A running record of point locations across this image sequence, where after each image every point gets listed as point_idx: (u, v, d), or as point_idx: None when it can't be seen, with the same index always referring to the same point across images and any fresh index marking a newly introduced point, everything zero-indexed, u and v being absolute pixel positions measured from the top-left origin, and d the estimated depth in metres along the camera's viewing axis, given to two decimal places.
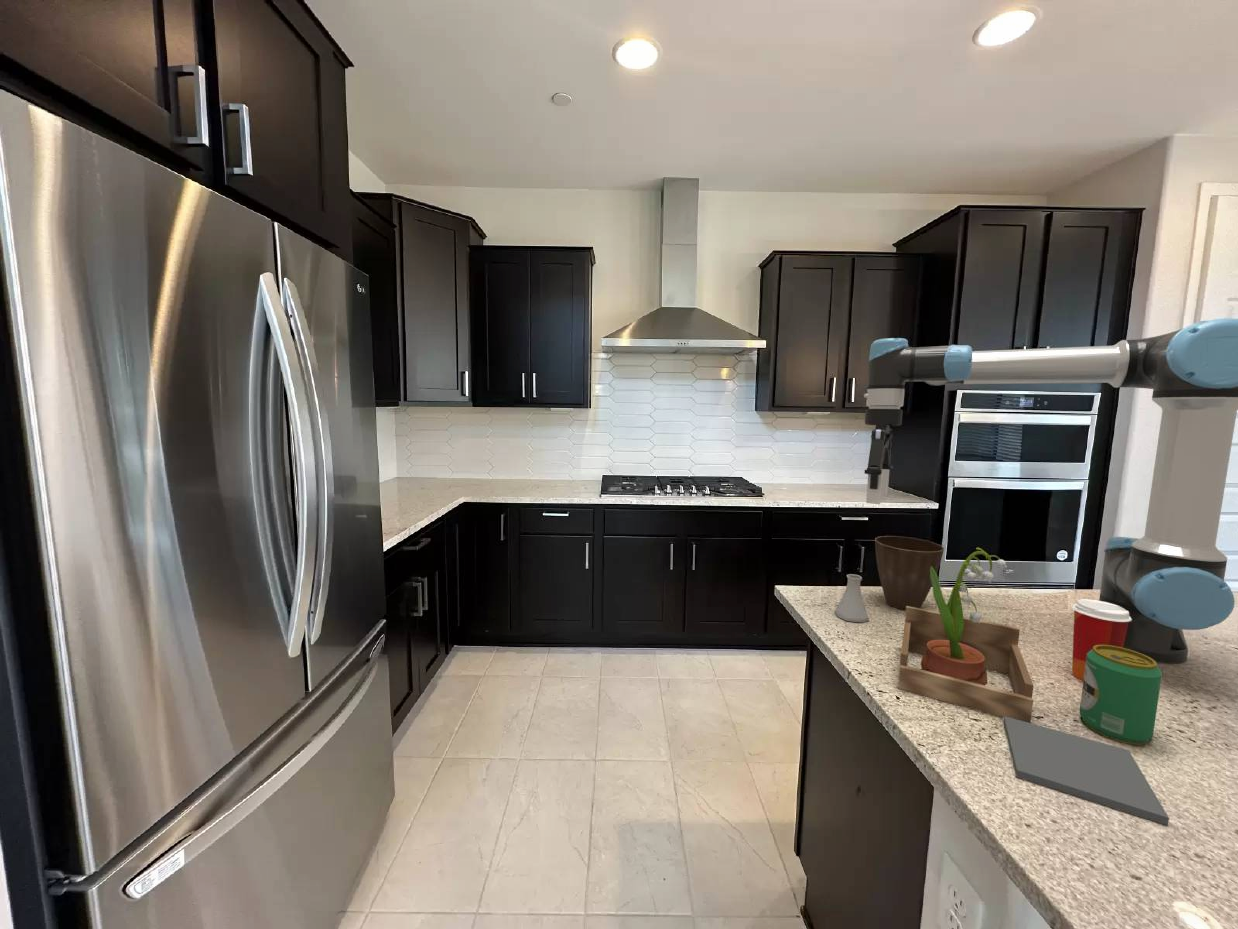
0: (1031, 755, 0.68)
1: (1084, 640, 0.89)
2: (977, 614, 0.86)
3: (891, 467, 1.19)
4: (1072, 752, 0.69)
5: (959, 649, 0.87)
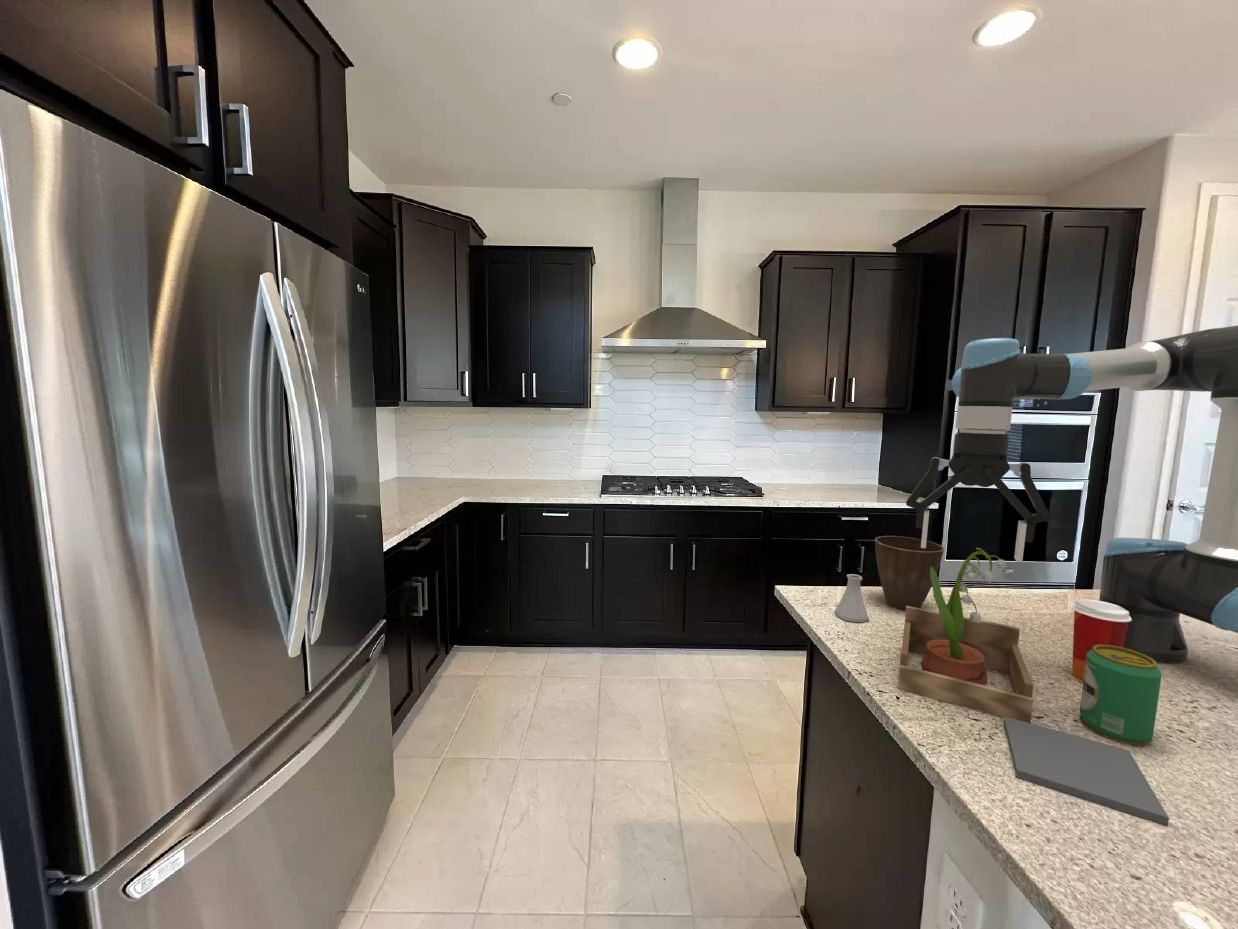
0: (1031, 755, 0.68)
1: (1084, 640, 0.89)
2: (977, 614, 0.86)
3: (1030, 521, 0.80)
4: (1072, 752, 0.69)
5: (959, 649, 0.87)
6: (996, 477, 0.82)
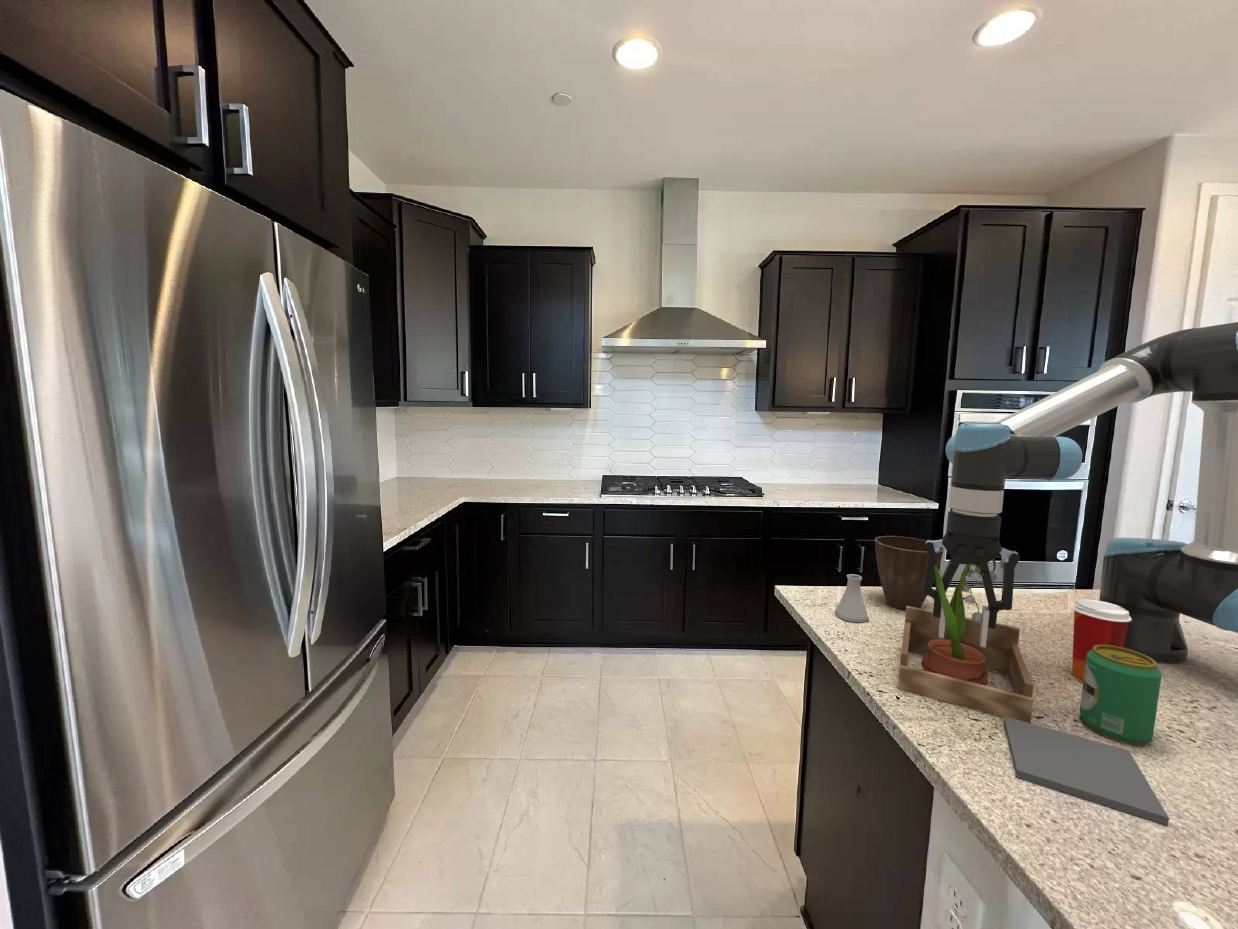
0: (1031, 755, 0.68)
1: (1084, 640, 0.89)
2: (979, 614, 0.86)
3: (992, 609, 0.84)
4: (1072, 752, 0.69)
5: (961, 649, 0.87)
6: (984, 560, 0.84)
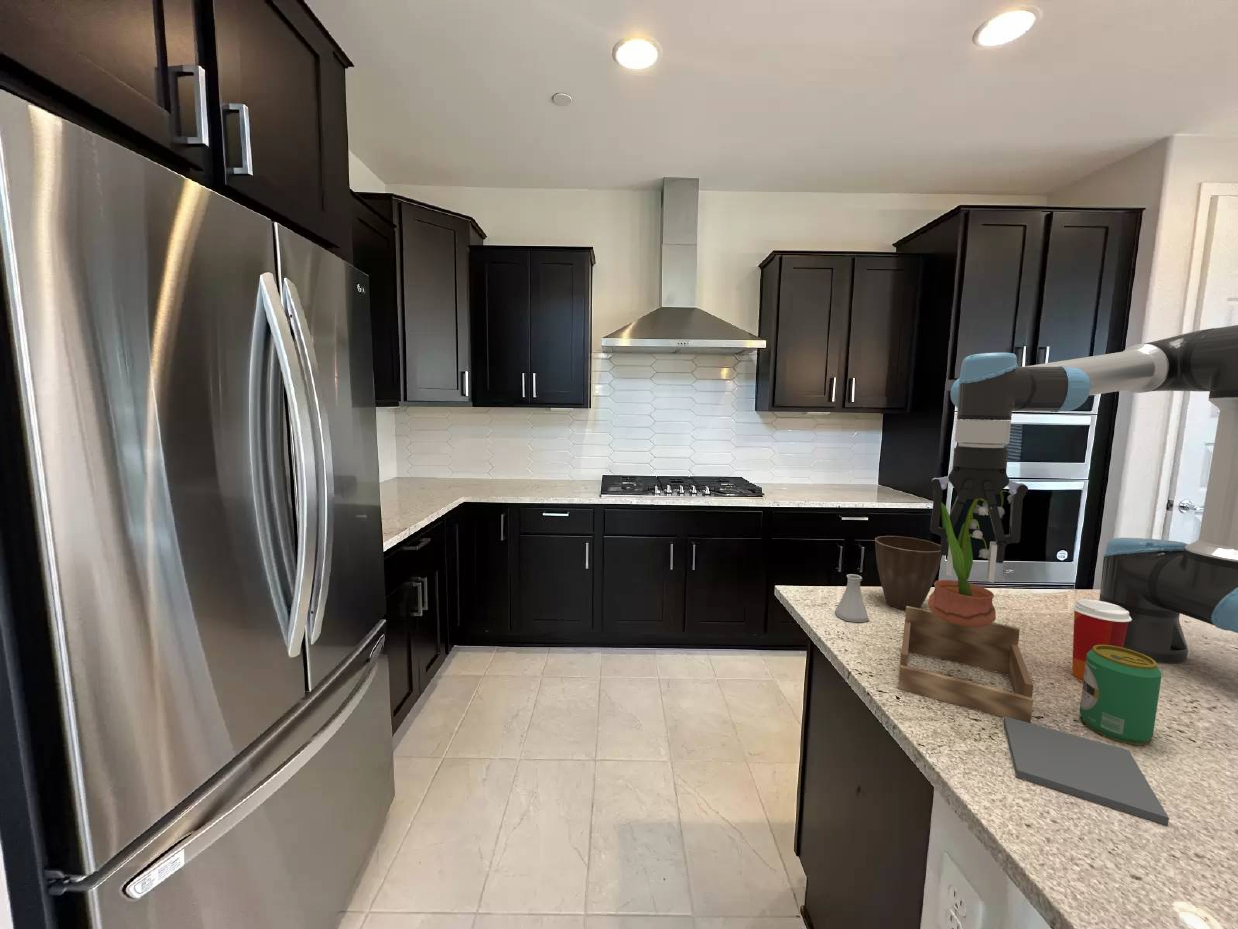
0: (1031, 755, 0.68)
1: (1084, 640, 0.89)
2: (987, 550, 0.85)
3: (1000, 542, 0.83)
4: (1072, 752, 0.69)
5: (968, 586, 0.86)
6: (992, 493, 0.83)
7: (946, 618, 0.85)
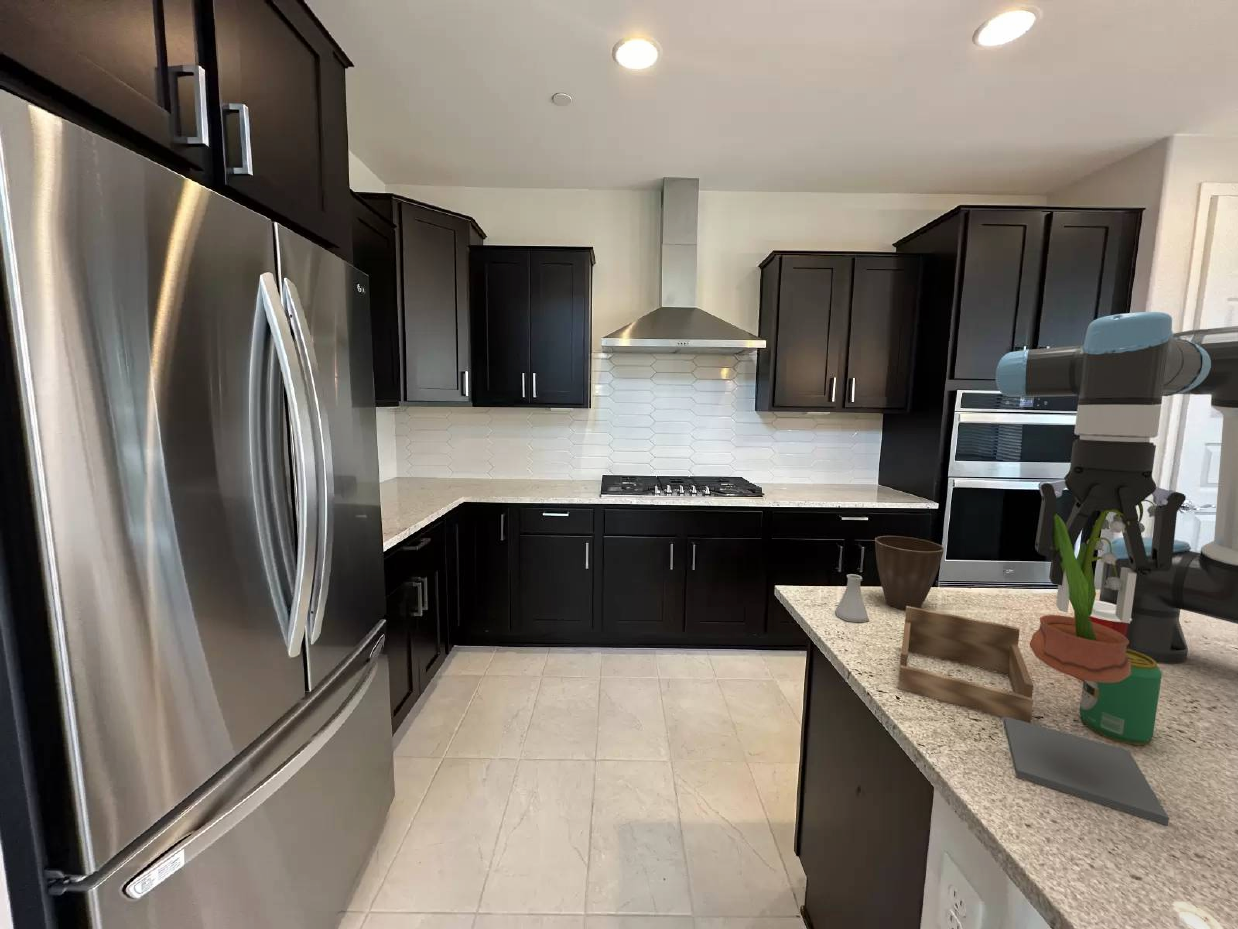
0: (1031, 755, 0.68)
1: None
2: (1118, 579, 0.64)
3: (1141, 570, 0.61)
4: (1072, 752, 0.69)
5: (1091, 626, 0.64)
6: (1131, 503, 0.61)
7: (1062, 669, 0.64)
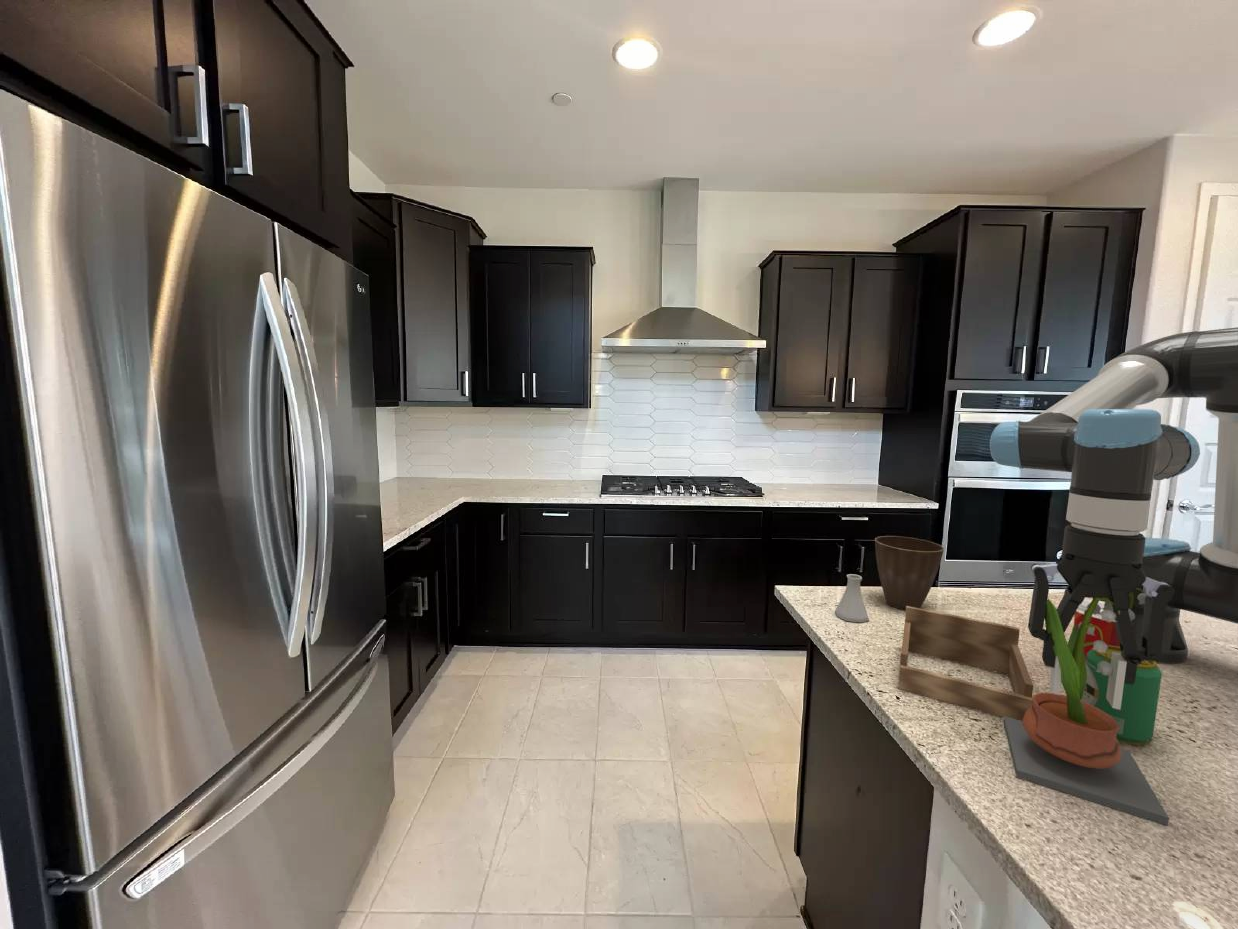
0: (1031, 755, 0.68)
1: None
2: (1109, 665, 0.65)
3: (1131, 659, 0.62)
4: None
5: (1082, 710, 0.66)
6: (1121, 593, 0.62)
7: (1054, 753, 0.65)
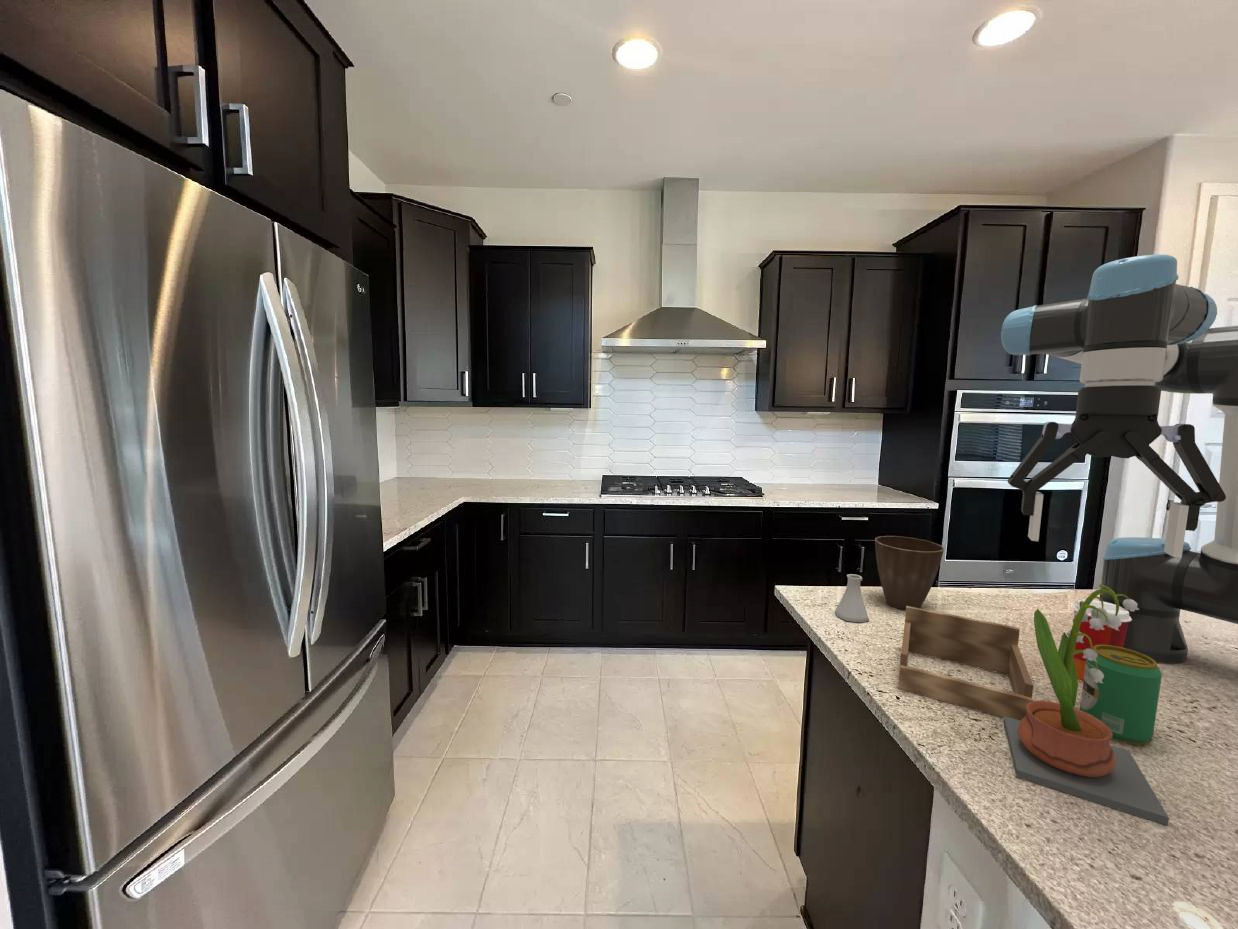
0: (1031, 755, 0.68)
1: (1084, 640, 0.89)
2: (1099, 672, 0.65)
3: (1195, 502, 0.59)
4: None
5: (1075, 718, 0.66)
6: (1143, 444, 0.61)
7: (1051, 763, 0.65)
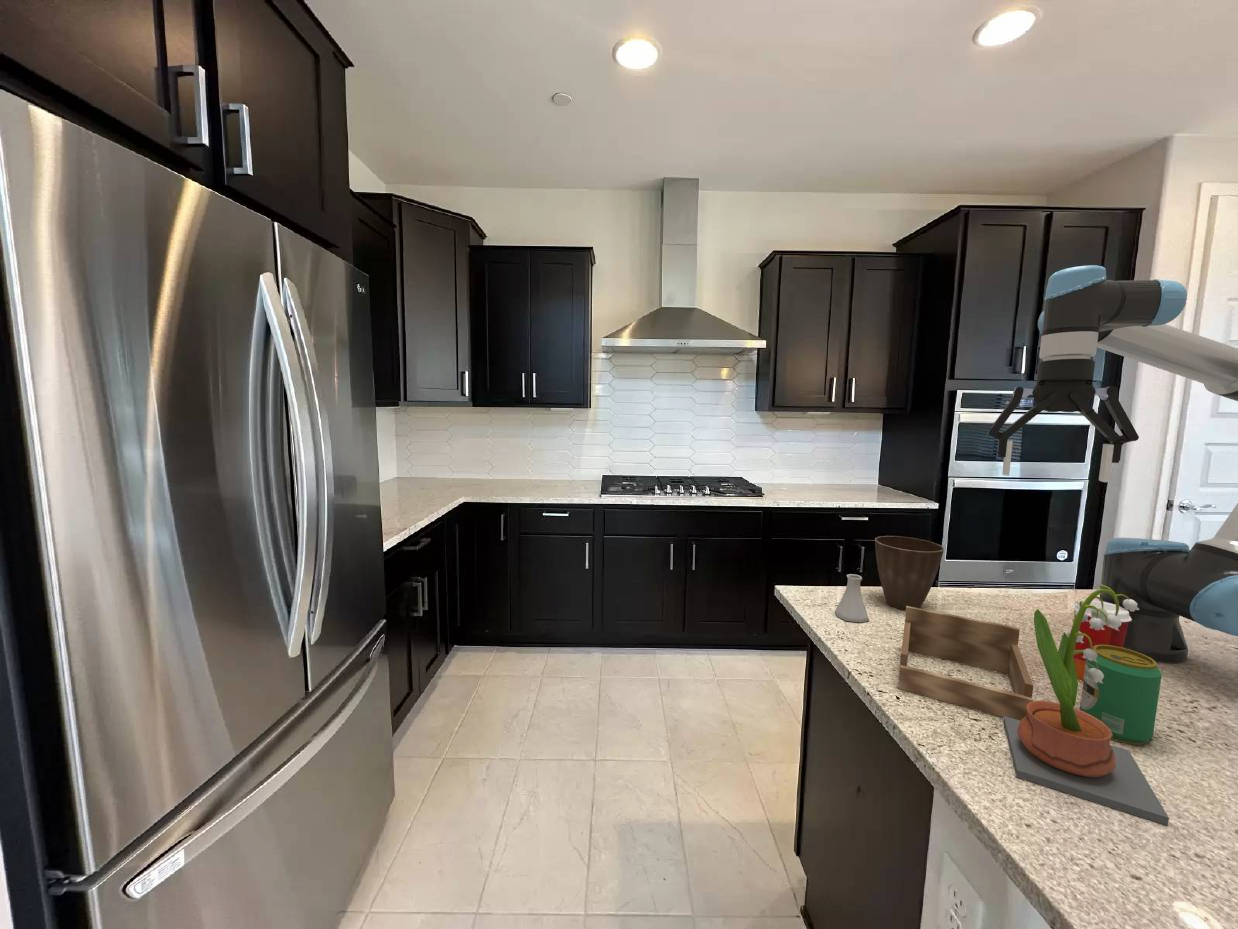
0: (1031, 755, 0.68)
1: (1084, 640, 0.89)
2: (1099, 672, 0.65)
3: (1117, 441, 0.83)
4: None
5: (1075, 718, 0.66)
6: (1082, 401, 0.85)
7: (1051, 763, 0.65)
